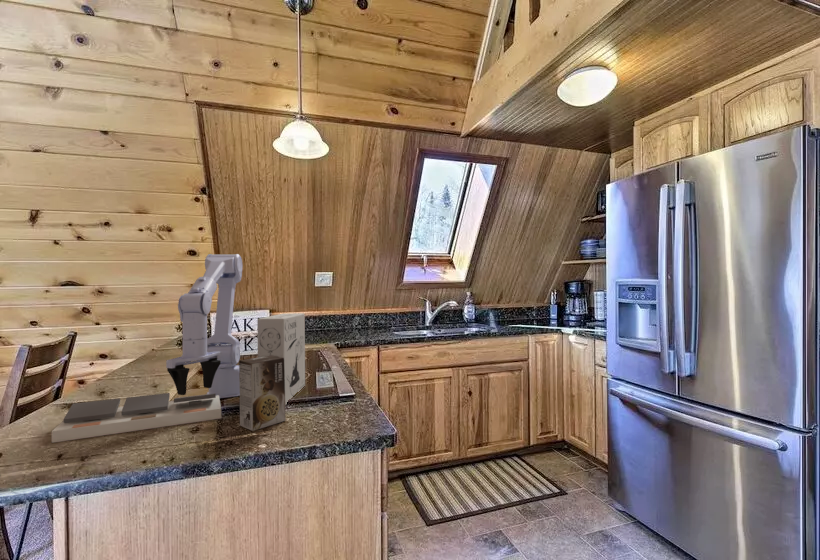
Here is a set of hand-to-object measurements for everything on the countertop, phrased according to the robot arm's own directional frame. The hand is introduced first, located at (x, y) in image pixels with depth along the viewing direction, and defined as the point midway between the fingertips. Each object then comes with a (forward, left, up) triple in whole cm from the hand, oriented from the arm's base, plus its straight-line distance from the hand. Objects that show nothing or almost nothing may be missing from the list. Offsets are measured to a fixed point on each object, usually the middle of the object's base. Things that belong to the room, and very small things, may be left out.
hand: (195, 391), depth 106 cm
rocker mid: (+11, -3, -3) cm, 12 cm away
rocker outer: (+22, -3, -3) cm, 22 cm away
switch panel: (+11, -3, -7) cm, 13 cm away
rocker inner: (0, -3, -3) cm, 4 cm away
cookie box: (-15, +14, -7) cm, 22 cm away
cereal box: (-24, -9, -7) cm, 27 cm away
